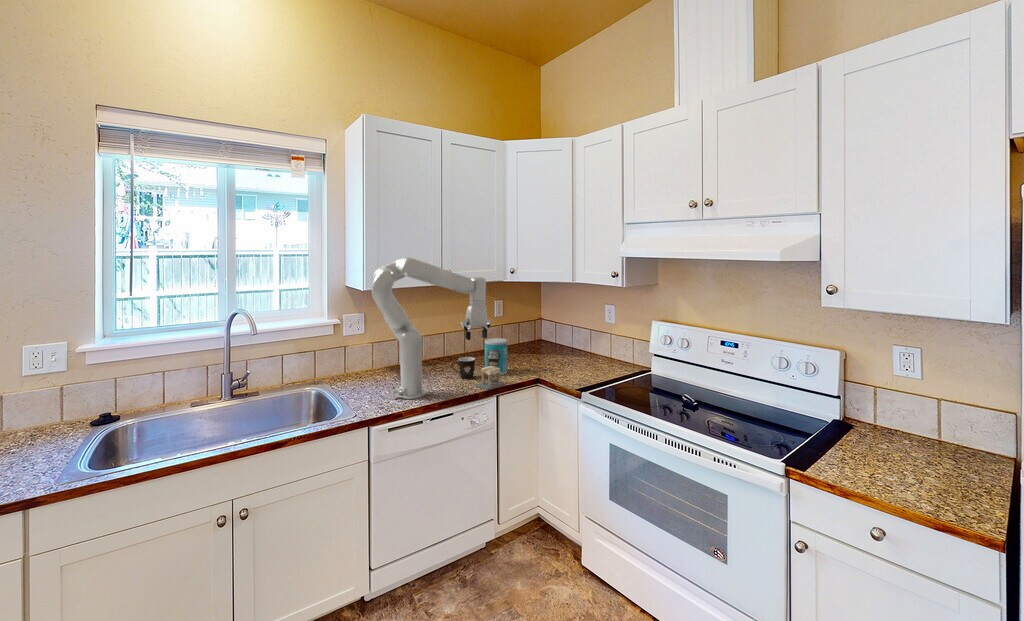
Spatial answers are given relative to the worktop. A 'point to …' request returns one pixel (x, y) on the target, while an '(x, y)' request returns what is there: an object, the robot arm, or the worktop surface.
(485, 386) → the mat
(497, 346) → the food can
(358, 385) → the worktop surface
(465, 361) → the coffee mug
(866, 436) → the worktop surface
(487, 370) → the wooden u-shaped block
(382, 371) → the worktop surface
